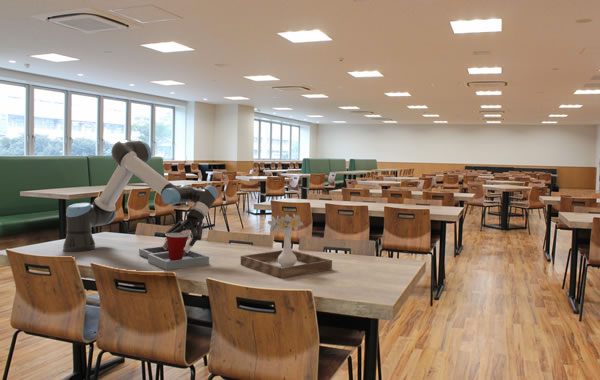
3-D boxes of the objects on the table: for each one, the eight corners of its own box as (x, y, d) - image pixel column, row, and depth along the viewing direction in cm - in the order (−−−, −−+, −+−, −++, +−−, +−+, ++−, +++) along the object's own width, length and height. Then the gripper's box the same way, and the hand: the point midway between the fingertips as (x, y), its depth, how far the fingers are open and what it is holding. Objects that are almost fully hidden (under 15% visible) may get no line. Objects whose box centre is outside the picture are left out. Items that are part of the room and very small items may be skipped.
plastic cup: (179, 255, 235) (181, 230, 233) (191, 260, 227) (194, 235, 226) (158, 257, 227) (160, 231, 226) (170, 263, 220) (173, 237, 218)
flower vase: (276, 262, 230) (276, 211, 228) (309, 266, 221) (310, 214, 219) (261, 267, 219) (261, 214, 217) (295, 272, 210) (296, 216, 209)
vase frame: (240, 264, 224) (240, 255, 223) (288, 257, 241) (288, 249, 240) (281, 278, 199) (282, 268, 199) (331, 269, 216) (332, 260, 216)
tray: (148, 261, 227) (148, 254, 227) (188, 256, 240) (188, 249, 239) (166, 270, 211) (166, 262, 211) (209, 264, 224) (209, 256, 223)
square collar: (139, 254, 242) (139, 248, 242) (168, 251, 252) (168, 245, 251) (151, 260, 230) (151, 254, 230) (182, 256, 240) (182, 250, 239)
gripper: (221, 220, 231) (199, 257, 219) (182, 216, 244) (159, 251, 232) (213, 210, 226) (190, 247, 214) (174, 206, 239) (150, 241, 227)
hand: (174, 249), depth 223 cm, fingers open, 13 cm apart
